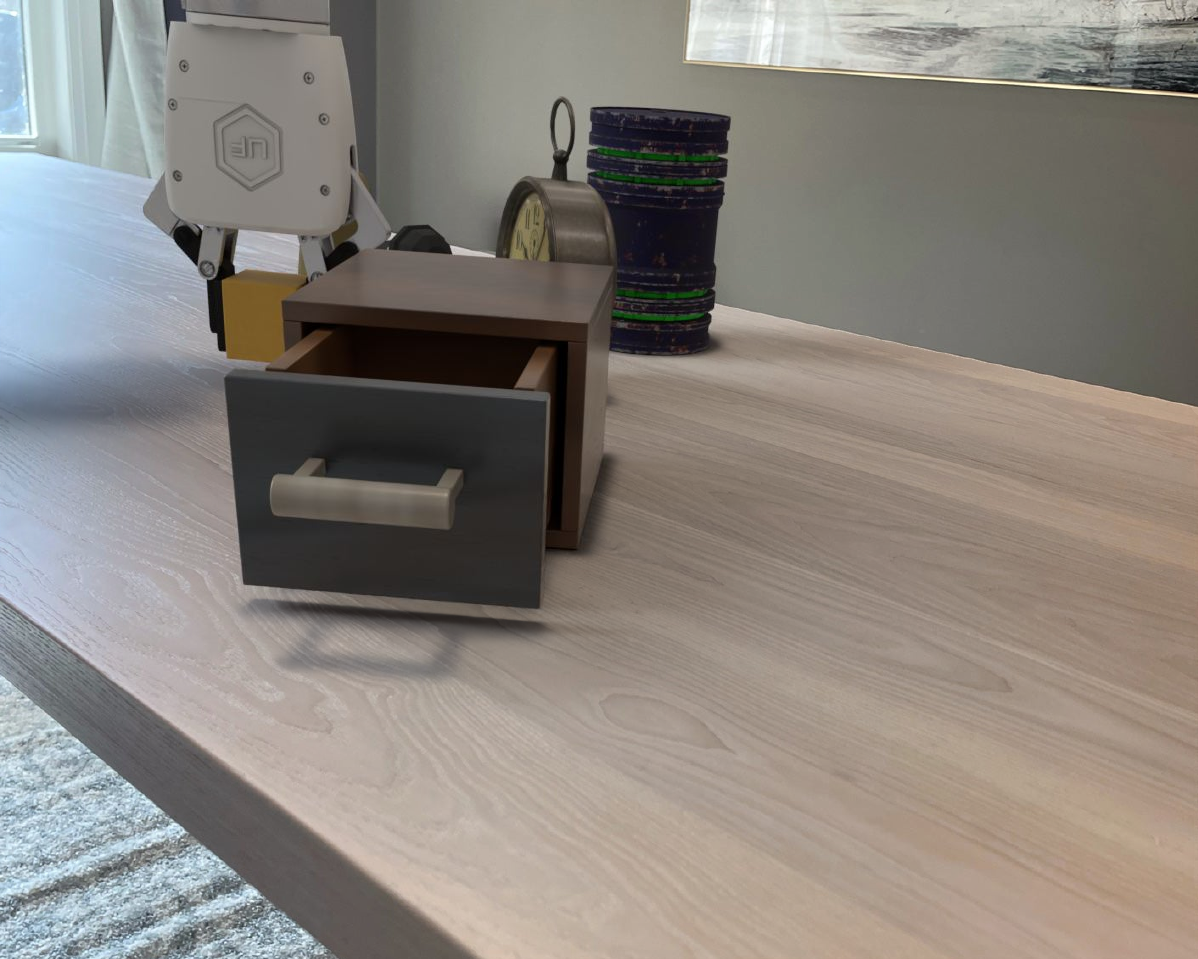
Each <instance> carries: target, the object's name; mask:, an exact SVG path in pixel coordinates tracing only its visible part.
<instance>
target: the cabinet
mask: <svg viewBox="0 0 1198 959" xmlns="http://www.w3.org/2000/svg"><path fill="white" fill-rule="evenodd" d="M452 254H453V253H452ZM452 254H438V253H424V252H410V251H396V250H382V249H368V248H366V249H364V250H362V251H361V252H359V253H357V254H356V255H354V256H353V257H351V258H349V259H348V260H346V261H344V262H343V263H341V264H340V265H338V266H336V267H335V268H333V269H331V270H330V271H328V272H327V273H325V274H323V275H322V276H320V277H318V278H317V279H315V280H314V281H312V282H310V283H309V284H307V285H305V286H304V287H302V288H301V289H299V290H297V291H296V292H294V293H292V294H291V295H289V296H288V297H286V298H284V299H283V300H281V306H282V319H283V335H284V350H285V352H286V351H288V350H289V349H290V348H292V347H293V346H294V345H296V344H297V343H298V342H300V341H301V340H303V339H304V338H305V337H307V336H308V335H309V334H311V333H312V332H313V331H315V330H316V329H317V328H319V327H320V326H321V325H323V324H324V323H327V324H341V325H354V326H367V327H381V328H394V329H408V330H421V331H435V332H448V333H462V334H475V335H488V336H502V337H515V338H529V339H542V340H556V341H566V345H565V370H564V395H563V420H562V445H561V470H560V491H559V494H558V497H557V499H556V502H555V505H554V508H553V511H552V514H551V517H550V520H549V522H548V525H547V528H546V536H545V548H554V549H557V548H558V549H567V550H578V548H579V545H580V541H581V538H582V534H583V530H584V527H585V524H586V519H587V516H588V513H589V510H590V506H591V501H592V497H593V494H594V491H595V486H596V484H597V479H598V476H599V472H600V469H601V465H602V461H603V458H604V448H605V443H604V442H605V434H606V433H605V432H606V413H607V398H608V397H607V395H608V379H609V359H610V350H609V345H610V327H611V310H612V292H613V274H614V267H613V266H605V265H591V264H577V263H563V262H549V261H535V260H521V259H508V258H495V257H492V256H479V255H477V256H476V255H467V254H466V255H465V254H453V255H452Z"/></svg>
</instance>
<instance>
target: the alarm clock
mask: <svg viewBox="0 0 1198 959" xmlns="http://www.w3.org/2000/svg"><path fill="white" fill-rule="evenodd" d="M562 103H563V105H564V106H565V108H566V110H567V114H568V118H569V125H570V127H569V128H570V131H569V132H570V133H569V134H570V135H569V142H568V146H567V149H566V150H565V149H561V148H560V149H559V147H558V142H557V139H556V129H555V128H556V118H557V113H558V109H559V106H560V105H561V104H562ZM549 118H550V119H549V129H550V131H549V132H550V140H551V145H552V148H553V153H552V160H553V168H552V172H551V177H550V178H549V177H537V176H532V175H524V176H523V177H521V178H520V179H519V180H518V181H517V182H516V183H515V184H514V185H513V187H512V188H511V190H510V192H509V194H508V197H507V198H506V201H505V203H504V204H505V205H504V207H503V209H502V214H501V218H500V224H499V228H498V234H497V241H496V248H495V257H494V258H508V259H521V260H535V261H549V262H563V263H577V264H591V265H605V266H613V267H614V274H613V292H612V310H611V319H612V315H613V309H614V304H615V297H616V292H617V251H616V241H615V235H614V229H613V225H612V220H611V217H610V214H609V211H608V209H607V206H606V204H605V202H604V200H603V199H602V197H601V196H600V194H599V193H598V192H597V191H596V190H595V189H594V188H593V187H592V186H591V185H589V184H587V182H585V181H582V180H572V179H568V163H569V161H570V156H571V154H572V152H573V149H574V145H575V140H576V117H575V111H574V108H573V105H572V103H571V102H570V100H569V99H568V98H567V97H566V96H563V95H561V96H558V97H557V98H556V99H555V100H554V101H553V105H552V107H551V111H550V117H549Z"/></svg>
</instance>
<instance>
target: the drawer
mask: <svg viewBox="0 0 1198 959" xmlns="http://www.w3.org/2000/svg"><path fill="white" fill-rule="evenodd" d="M565 345H566V341H556V340H542V339H529V338H515V337H502V336H488V335H475V334H462V333H448V332H435V331H421V330H408V329H394V328H381V327H367V326H354V325H341V324H327V323H324V324H323V325H321V326H320V327H319V328H317V329H316V330H315V331H313V332H312V333H311V334H309V335H308V336H307V337H305V338H304V339H303V340H301V341H300V342H298V343H297V344H296V345H294V346H293V347H292V348H290V349H289V350H288V351H286V352H285V353H284V354H282V355H281V356H280V357H278V358H277V359H276V360H274V361H273V362H271V363H268V364H267V365H266V366H265V367H264V370H260V369H259V370H258V369H244V368H234V369H232V370H231V371H229V372H227V373H226V374H225V375H223V385H224V396H225V406H226V408H225V409H226V418H227V427H228V438H229V449H230V450H229V451H230V461H231V470H232V480H233V482H232V483H233V491H234V492H233V493H234V502H235V513H236V514H235V515H236V525H237V526H236V527H237V536H238V545H239V547H238V548H239V557H240V568H241V578H242V584H243V585H244V586H254V587H264V588H265V587H266V588H279V589H290V590H291V589H292V590H302V591H314V592H324V593H325V592H326V593H338V594H351V595H363V596H375V597H388V598H398V599H399V598H400V599H410V600H421V601H422V600H425V601H434V602H435V601H436V602H447V603H459V604H473V605H483V606H484V605H485V606H495V607H507V608H518V609H519V608H520V609H531V610H539V609H541V605H542V602H543V600H544V589H545V564H546V562H545V559H546V556H545V555H546V547H545V536H546V528H547V525H548V522H549V520H550V517H551V514H552V511H553V508H554V505H555V502H556V499H557V497H558V494H559V491H560V470H561V445H562V420H563V395H564V370H565Z"/></svg>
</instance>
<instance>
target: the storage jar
mask: <svg viewBox="0 0 1198 959" xmlns="http://www.w3.org/2000/svg"><path fill="white" fill-rule="evenodd" d="M589 121H590V123H591V129H590V130H591V131H589V132H588V145H589V146H592V147H594V148H591V149H587V150H586V154H587V155H586V163H585V164H586V169H588V170H592V171H590V172H587V175H586V183H587V184H589V185H591V186H592V187H593V188H594V189H595V190H596V191H597V192H598V193H599V194H600V196H601V197H602V199H603V200H604V202H605V204H606V206H607V209H608V211H609V214H610V217H611V220H612V225H613V229H614V235H615V241H616V251H617V292H616V297H615V304H614V309H613V315H612V319H611V327H610V345H609V351H613V352H614V351H615V352H621V353H628V354H639V355H653V356H654V355H655V356H660V355H661V356H662V355H663V356H664V355H665V356H667V355H668V356H671V355H672V356H673V355H686V354H693V353H698V352H701V351H704V350H706V349H708V348H709V347H710V341H711V336H710V333H709V330H710V328H709V327H710V325H711V323H712V319H713V316H712V314H711V313H710V312H712V311H714V309H715V303H716V290H715V289H713V288H714V287H715V286H716V277H717V265H716V263H715V256H716V243H717V234H718V224H719V214H720V213H719V211H720V209H721V207H722V206H723V205H724V196H725V195H726V192H725V181H723V180H721V179H724V178H727V176H728V168H729V159H728V158H726V157H723V156H722V155H727V154H728V153H729V140H728V132H729V131H730V130H731V123H732V122H731V121H732V116H731V115H726V114H720V113H713V112H706V111H697V110H687V109H685V110H683V109H674V108H659V107H639V106H613V105H611V106H610V105H609V106H606V105H605V106H591V107H590V109H589ZM595 147H596V148H595Z"/></svg>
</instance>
